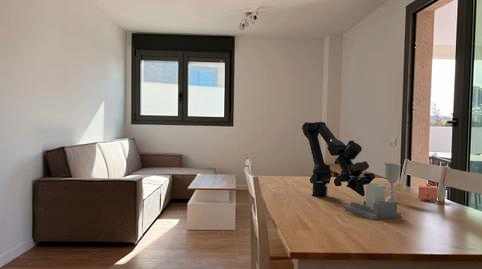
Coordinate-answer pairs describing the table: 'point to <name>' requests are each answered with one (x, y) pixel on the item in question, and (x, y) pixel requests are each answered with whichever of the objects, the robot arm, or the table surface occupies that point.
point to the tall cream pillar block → (374, 194)
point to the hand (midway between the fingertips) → (363, 195)
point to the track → (375, 210)
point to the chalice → (392, 177)
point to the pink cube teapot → (427, 192)
